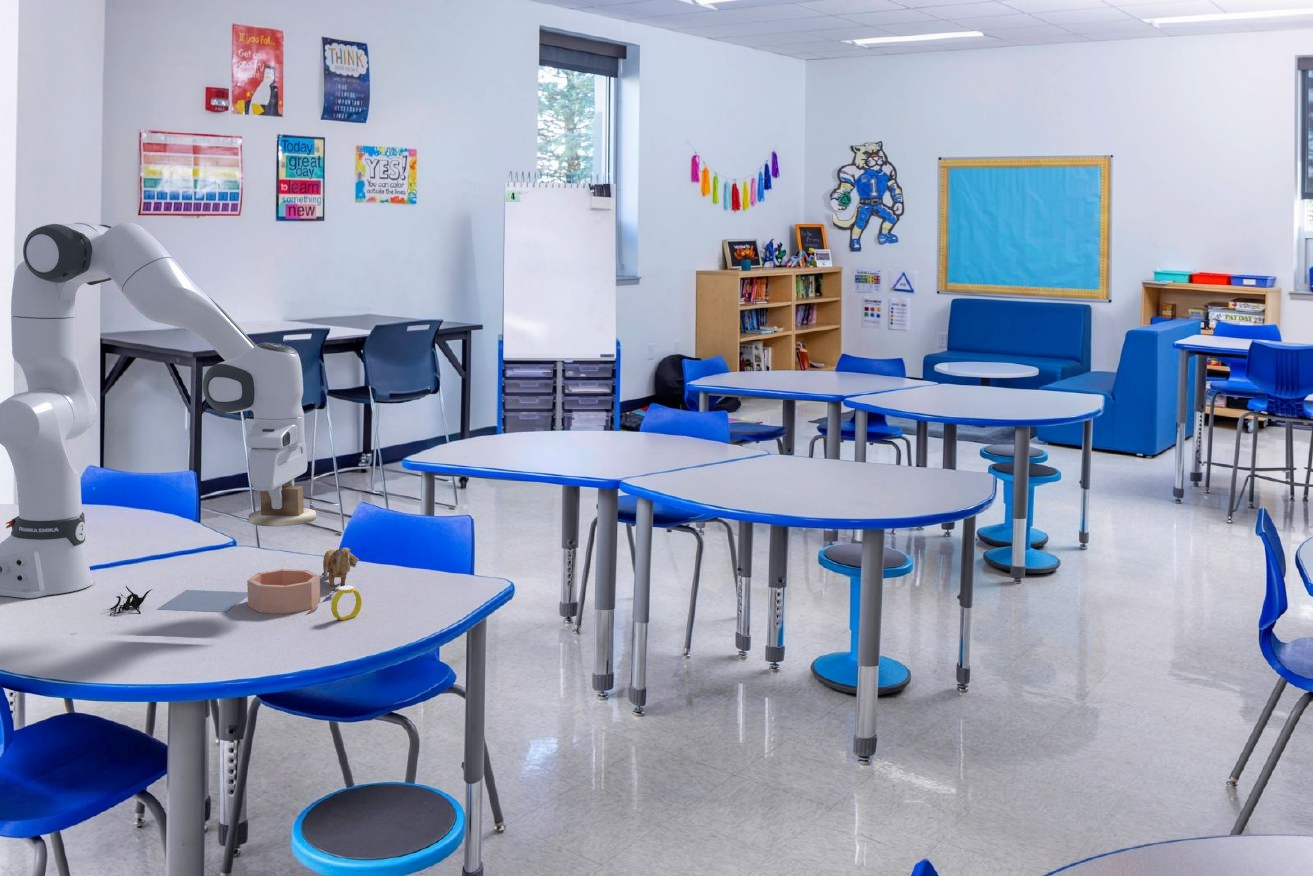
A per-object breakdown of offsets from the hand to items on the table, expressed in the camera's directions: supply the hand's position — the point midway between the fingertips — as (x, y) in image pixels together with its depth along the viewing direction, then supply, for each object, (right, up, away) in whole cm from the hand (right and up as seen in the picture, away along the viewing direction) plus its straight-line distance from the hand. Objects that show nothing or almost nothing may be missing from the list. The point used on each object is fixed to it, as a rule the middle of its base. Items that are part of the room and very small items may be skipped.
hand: (282, 505), depth 230 cm
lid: (0, -3, 0) cm, 3 cm away
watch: (+12, -21, -1) cm, 24 cm away
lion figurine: (+5, -17, +19) cm, 27 cm away
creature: (-27, -20, -4) cm, 34 cm away
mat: (-15, -19, +4) cm, 25 cm away
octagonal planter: (0, -20, +3) cm, 20 cm away
